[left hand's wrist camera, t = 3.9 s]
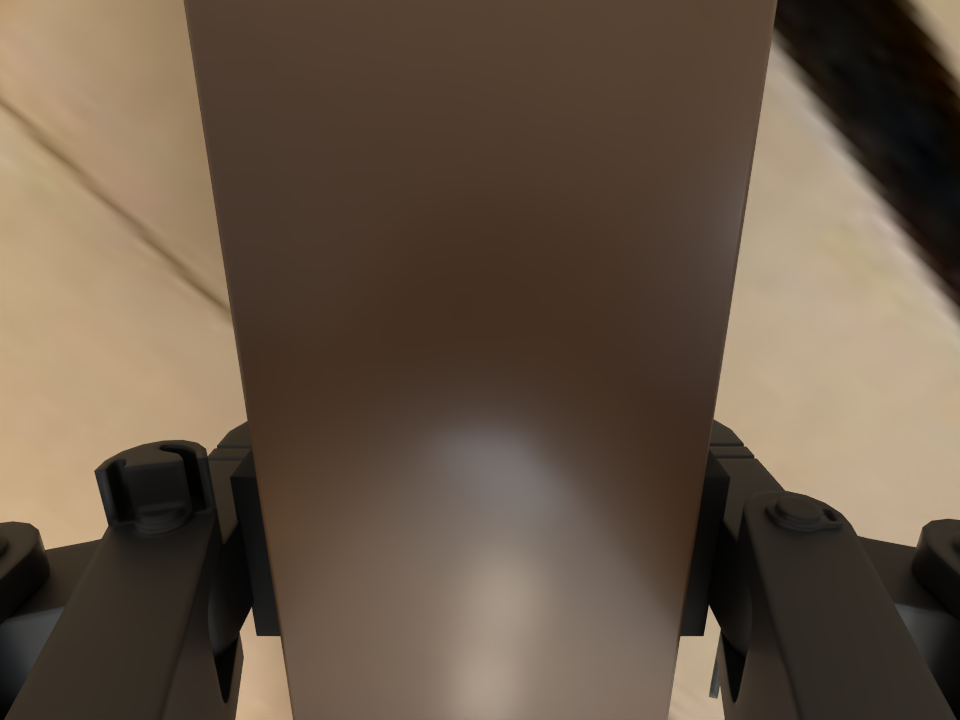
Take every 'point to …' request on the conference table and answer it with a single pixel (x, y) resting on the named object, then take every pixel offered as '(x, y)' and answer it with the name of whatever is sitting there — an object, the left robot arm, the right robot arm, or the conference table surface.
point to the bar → (480, 332)
